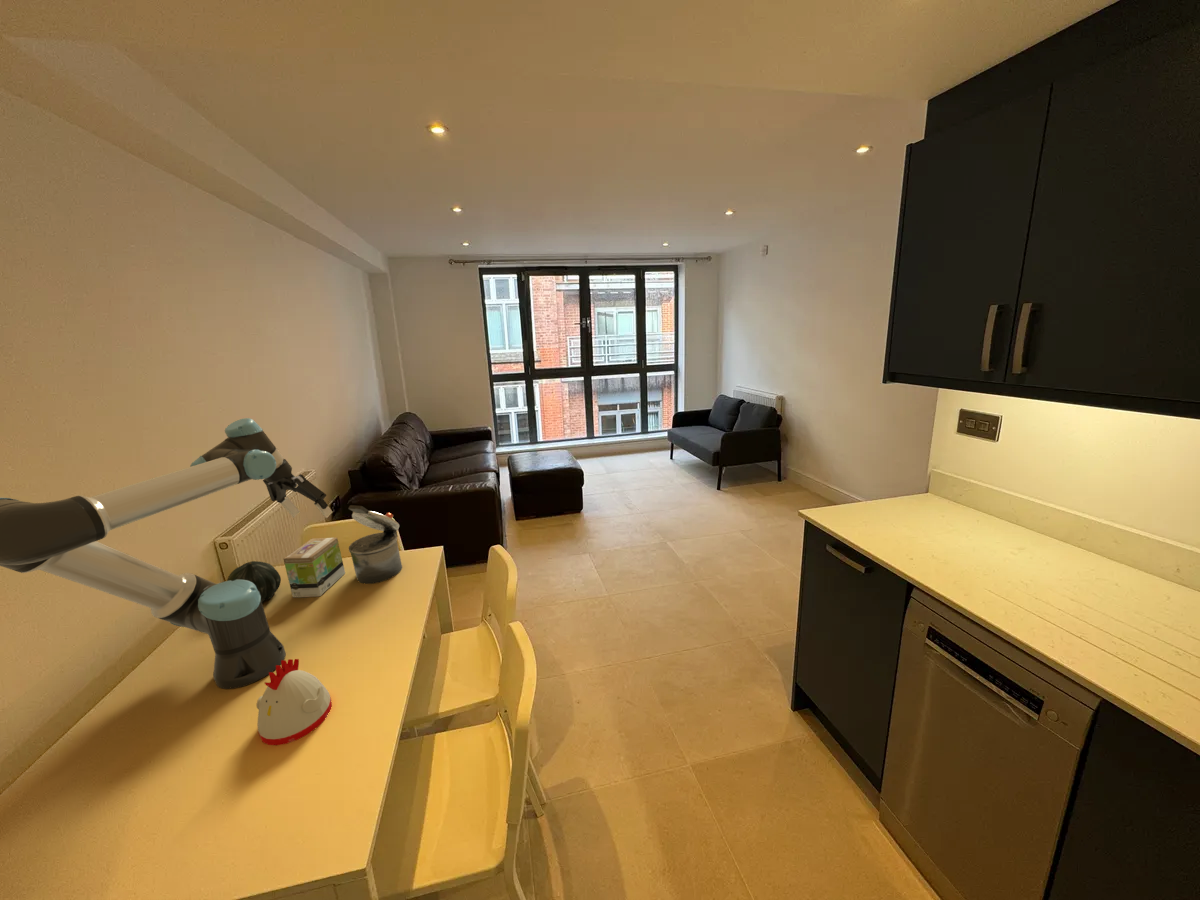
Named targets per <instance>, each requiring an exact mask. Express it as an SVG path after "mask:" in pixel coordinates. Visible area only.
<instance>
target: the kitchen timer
mask: <svg viewBox="0 0 1200 900" xmlns="http://www.w3.org/2000/svg"><path fill="white" fill-rule="evenodd" d="M299 661H300V659H299V658H294V659H291V658H288V659H287V661H286V660H285V659H284V660H281V664H280V665H276V669H275V672H274V671H273V672H269V674H268V675H269V676H268V677H269V680H270V681H269V682H266V681H265V682H264V685H265V686H267V687H266V688H265V691H264V692H263V694H262V695H261V696H259V697H258V699H257V701H256V709H257V710H258V711H257V713H258V715H257V731H258V732H257V733H258V735H259V738H260V739H261V741H262V743H263V744H266V745H268V746H279V745H286V744H289V743H292V742H295V741H297V740H299V739H301V738H303V737H305V736H307V735H309V734H311V731H312V732H313V731H314V730H316V729H317V728H318V727H320V725H321V724H322V723H324V721H325V720H326V719H327V718H328V716H329V715H328V713H329V712H331V711H330V710H332V708H331V707H333V703H332V702H333V701H332V698H331V697H332V696H331V694H330V692H329V690H328V689H327V688H326V686H325V685H324V684H323V683H322V682H321V681H320V679H319V678H317V676H315V675H314V674H312V673H310V672H308V671H305V670H302V669H299ZM331 701H332V702H331ZM329 714H330V713H329ZM327 715H328V716H327ZM325 718H326V719H325ZM315 728H316V729H315Z"/></svg>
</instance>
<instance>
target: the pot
mask: <svg viewBox="0 0 1200 900" xmlns="http://www.w3.org/2000/svg"><path fill="white" fill-rule="evenodd" d="M398 537H399V536H398V530H397V531H396V532H384V531H382V532H377V533H371V534H368V535H365V536H363V537H359V538H358V539H355V541H353V542H352V543H350V545H349V546H348V553H350V555H351V560H352V561H351V562H352V565H353V569H354V572H355V577H356V580H357V582H358V581H359V582H358V583H359V584H364V583H365V584H367V585H370V584H377V583H381V582H384V581H387V580H390V579H392V578H394V577H396V575H398V574H399V573H400V572H401V571H402V570H403V565H402V559H401V555H400V549H399V543H398ZM365 584H364V585H365Z"/></svg>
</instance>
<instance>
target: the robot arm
mask: <svg viewBox="0 0 1200 900" xmlns="http://www.w3.org/2000/svg"><path fill="white" fill-rule="evenodd" d="M224 433H225V436H226V437H227V438H225V439H224V440H223V441H221V442H220V443H219V444H217V445H215V446H214V447H212V448H211V449H209V450H208V451H206V452H205V453H203V454H202V455H199V457H198V458H196V459H195V460H194V461H192V463H191V464H190V466H189V467H185V468H183V469H179V470H176V471H171V472H169V473H166V474H162V475H159V476H155V477H154V478H153V477H152V478H149V479H146V480H142V481H139V482H136V483H132V484H129V485H126V486H123V487H119V488H117V489H113V490H110V491H106V492H104V493H103V492H102V493H100V494H97V495H93V496H90V497H89V496H85V495H83V494H82V495H80V494H79V495H75V496H72V497H68V498H64V499H60V500H56V501H55V500H54V501H48V502H47V501H46V502H29V501H23V500H19V499H17V498H16V499H14V498H10V497H0V567H3V568H4V569H5V568H6V569H8V570H11V571H14V572H17V573H21V574H27V573H31V572H35V571H43V572H46V573H48V574H51V575H53V576H56V577H59V578H62V579H65V580H68V581H71V582H74V583H77V584H80V585H83V586H86V587H89V588H92V589H95V590H96V591H97V590H98V591H100V592H103V593H106V594H108V595H112V596H115V597H118V598H121V599H123V600H126V601H129V602H133V603H136V604H138V605H141V606H142V607H143V606H144V607H146V608H150V612H151V615H152V616H153V617H154V618H157V619H160V620H162V621H165V622H167V623H169V624H171V625H173V626H177V627H181V628H187V629H190V630H194V631H197V632H199V633H200V632H201V633H203V634H206V635H208V637H209V640H210V643H211V645H212V648H213V651H214V654H215V655H214V663H213V664H214V665H213V674H212V676H213V680H214V682H215V685H216V686H217V687H218V688H220V689H225V690H230V689H237V688H242V687H245V686H248V685H251V684H253V683H256V682H258V681H259V680H262V679H263V678H265V677H266V676H268V675H269V672H273V673H274V671H276V665H280V666H281V660H285V659H286V653H287V652H286V650H285V647H284V645H283V643H282V642H281V641H280V640H279V639H278V638H277V637H276V636H275V635H274V634H273V632H272V631H271V629H270V626H269V623H268V619H267V616H266V613H265V608H264V605H263V602H261V596H260V593H259V591H258V590H257V588H256V586H255V584H254V583H252V582H250V581H248V580H234V581H231V580H230V581H227V580H226V581H222V582H218V583H215V582H213V581H211V580H208V579H206V578H203V577H201V576H198V575H196V574H193V573H191V572H185V573H181V574H176V573H175V572H172V571H169V570H167V569H164V568H162V567H159V566H157V565H154V564H152V563H150V562H147V561H145V560H143V559H140V558H138V557H135V556H133V555H130V554H128V553H125V552H123V551H122V550H119V549H116V548H113V547H111V546H108V545H106V544H104V543H102V542H100V540H103V539H105V538H106V537H107V535H108V534H109V532H110V531H112V530H115V529H118V528H121V527H123V526H126V525H130V524H132V523H134V522H138V521H140V520H143V519H145V518H148V517H151V516H154V515H157V514H160V513H162V512H165V511H167V510H170V509H173V508H176V507H179V506H181V505H183V504H187V503H189V502H192V501H195V500H198V499H201V498H203V497H206V496H209V495H211V494H214V493H217V492H219V491H222V490H226V489H228V488H230V487H234V486H236V485H240V484H243V483H245V482H247V481H250V480H253V481H254V480H255V481H256V480H257V481H259V480H262V482H263V483H264V484H265V487H266V489H267V492H268V494H269V497H270V500H271V501H272V502H275V501H276V502H277V503H279V504H280V505H282V506H283V508H284V509H285V510H286V512H288V514H289V515H290V516H291V517H292V518H296V516H297V515H299V513H301V511H300V509H299V508H298V506H296V504H295V503H294V502H293V501H292V500H291V499H290V497H289V496H287V494H286V493H287V491H292V492H295V493H299V494H300V495H302V496H304V497H306V498H307V499H309V500H310V501H313V504H314V505H315V507H316V509H318V511H319V512H320V513H321V514H322V516H323V518H325V519H328V517H329V516H330V515H331V514H333V511H332V508H330V507H329V505H328V503H327V502H326V501H325V500H324V499H325V498H326V497H327V494H326V493H325V492H324V491H322V490H321V489H320V488H319V487H317V486H315V485H314V484H313V483H311V481H309V480H308V479H306V477H305V476H304V475H303V474H299V475H297V476H295V475H294V474H293V473H292V471H293V467H292V465H291V464H290V463H289V461H287V459H286V458H285V457H284V455H283V454H282V453H281V452H280V451H279V449H278V448H277V447H276V446H275V444H274V443H273V442H272V440H271V439H270V438H269V437H268V435H267V434H266V433H265V431H264V429H263V428H262V427H261V426H260V425H259V424H258V423H257V422H256V421H255V420H254V419H253V418H249V417H248V418H247V417H245V418H244V417H243V418H241V419H236V420H234V421H233V422H231V423H230V424H229V425H228V426H226V427H225V429H224Z"/></svg>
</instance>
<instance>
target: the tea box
mask: <svg viewBox="0 0 1200 900" xmlns="http://www.w3.org/2000/svg"><path fill="white" fill-rule="evenodd" d="M283 563H284V567H285V572H286V575H287V580H288V584H289V587H290V592H291V595H292V598H311V597H312V598H314V597H322V595H323V594H324V593H325V592H326V591H327V590H328V589H330V588H331V587H332V586H333V585H334V584H336V582H337V581H338V580H339V579H341V578H342V577H343V576H344V575H345V574H346V571H345V567H344V561H343V557H342V553H341V549H340V544H339V539H338V537H322V538H321V537H320V538H319V537H318V538H311V539H309V540H308V541H306V542H305V543H303V544H302V545H300V546H299V547H298V548H296V549H295V550H293V551H292V552H291V553H289V554H288V555H286V556H285V557H283Z"/></svg>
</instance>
